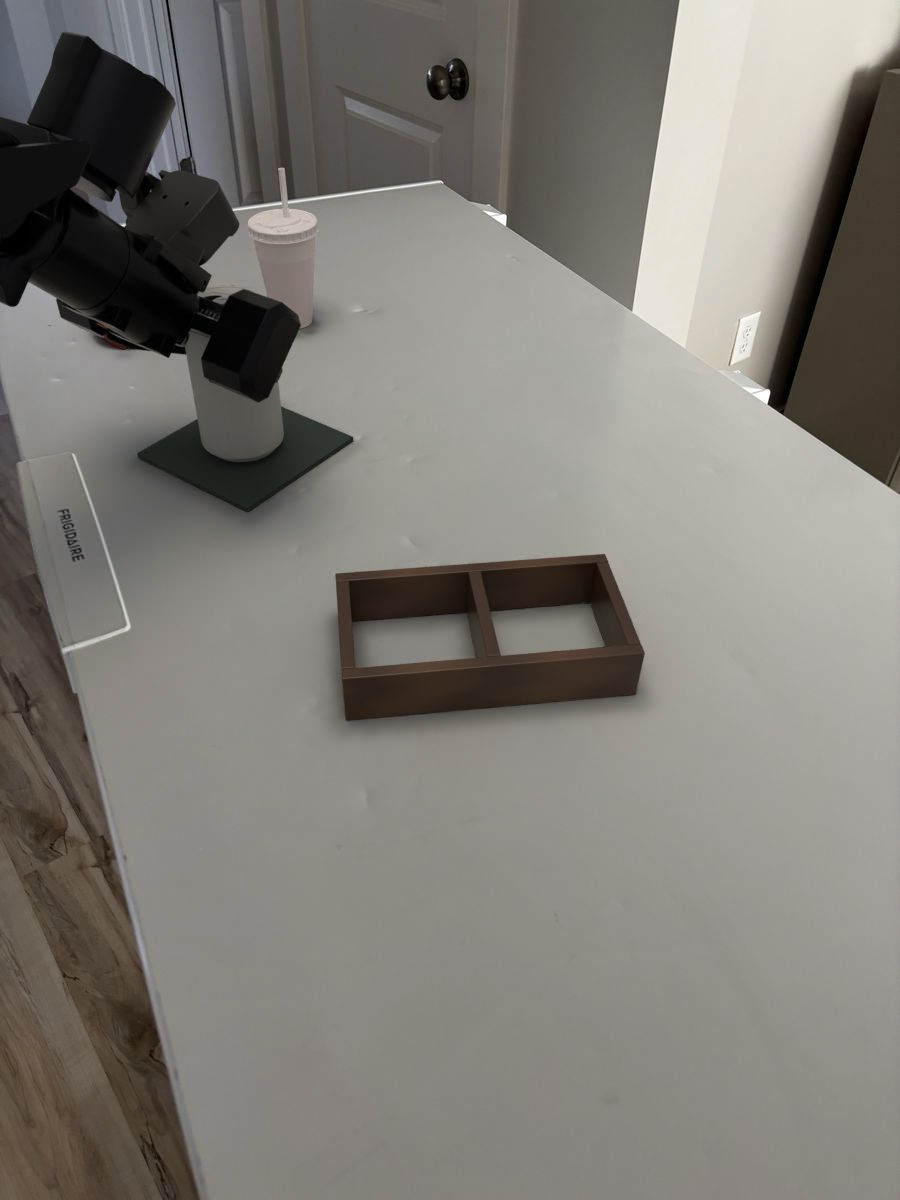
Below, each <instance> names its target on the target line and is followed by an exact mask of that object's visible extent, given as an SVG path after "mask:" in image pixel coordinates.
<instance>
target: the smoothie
mask: <svg viewBox="0 0 900 1200" xmlns="http://www.w3.org/2000/svg"><path fill="white" fill-rule="evenodd" d="M278 179H279V180H278V181H279V190H280V197H281V208H274V209H268V210H264V211H261V212H258V213H256V214H254V215H252V216H251V217H249V219H248V221H247V229H248V231H247V234H248V236H249V237H250V238H251V239H252V240H253V244H254V247H255V248H254V249H255V252H256V256H257V260H258V264H259V268H260V272H261V276H262V279H263V283H264V288H265V292H266V297H268V298H271V299H274V300H277V301H280V302H282V303H284V304H285V305H286V306H288V307H289V308H290V309H291V310H293V311H294V312H295V313H296V314H298V316H299V320H300V323H301V327H300V329H304V328H307V327H309V326H310V325H311V324H312V323H313V311H314V310H313V309H314V308H313V307H314V283H315V282H314V281H315V258H316V257H315V256H316V255H315V253H316V236H317V235H318V234H319V231H320V228H319V225H318V223H319V222H318V218H317V216H315V215H314V214H313V213H311V212H309V211H306V210H302V209H295V208H289V199H288V189H287V188H288V187H287V180H286V179H287V178H286V170H285V167H279V168H278ZM300 329H299V330H300Z"/></svg>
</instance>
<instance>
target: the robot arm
mask: <svg viewBox="0 0 900 1200" xmlns="http://www.w3.org/2000/svg"><path fill="white" fill-rule="evenodd" d="M33 104H34V105H33V107H32V108H31V111H30V113H29V116H28V118H27V120H26V123H24V122H21V121H17V120H13V119H10V118H7V117H4V116H0V304H3V305H5V306H7V307H10V308H14V307H17V306H18V305H19V304H20V302H21V300H22V298H23V295H24V293H25V291H26V288H27V286H28V283H29V284H31V285H32V286H35V287H36V288H38V289H40V290H41V291H43V292H46V294H49V295H50V296H52V297H54V298H55V302H56V305H57V310H58V313H59V318H61V319H63V320H64V321H66V322H67V323H70V324H72V325H74V326H75V327H77V328H79V329H80V330H83V331H86V332H89V333H91V334H92V335H95V336H98V337H100V338H103V339H105V338H104V336H105V334H106V337H107V338H108V339H109V340H111V341H113V342H116V343H118V344H120V345H123V346H125V347H126V348H128V349H130V350H137V351H146V352H153V353H155V354H158V355H160V356H163V357H164V358H167V359H170V357H171V355H172V354H177V355H186V351H185V346H186V344H187V342H188V340H189V335H190V334H189V331H192V332H194V333H197V334H199V335H202V336H204V337H207V338H209V342H208V344H207V346H206V348H205V350H204V353H203V355H202V357H201V363H202V369H203V375H204V377H205V378H206V379H208V380H209V382H212V383H214V384H216V385H219V386H221V387H223V388H225V389H227V390H229V391H232V392H234V393H236V394H239V395H241V396H243V397H246V398H248V399H251V400H253V401H255V402H258V403H259V402H261V401H263V400H265V399H267V398H268V397H269V395H270V393H271V391H272V388H273V386H274V384H275V383H277V382H278V383H279V380H280V379H281V376H282V374H283V367H284V364H285V362H286V360H287V357H288V355H289V353H290V351H291V349H292V346H293V344H294V342H295V340H296V338H297V335H298V333H299V331H300V327H301V323H300V320H299V316H298V314H296V313H295V312H294V311H293V310H291V309H290V308H289V307H288V306H286V305H285V304H284V303H282V302H280V301H277V300H274V299H271V298H268V296H265V295H263V294H262V295H260V294H257V293H254V292H251V291H248V290H246V289H242V290H240V291H238V292H236V293H234V294H231V295H229V297H228V299H227V301H226V302H225V303H224V304H219V303H217V302H214V301H211V300H209V299H206V298H203V297H200V296H198V292H199V291H200V292H205V290H206V288H207V287H208V286H209V283H210V281H211V279H212V277H213V274H211V273H210V272H208V271H207V270H205V269H204V268H203V266H204V265H205V264H206V263H208V261H210V259H211V258H212V257H213V256H214V255H215V254H216V253H217V252H218V250H219V249H220V248H221V247H222V246H223V244H224V243H225V242H226V241H227V240H228V238H230V237H234V235H236V233H237V232H238V230H239V228H240V221H239V218H238V217H237V216H236V213H235V211H234V210H233V207H232V206H231V204H230V201H229V200H228V198H227V196H226V195H225V192H224V190H223V188H222V187H221V185H220V183H219V181H218V180H215V179H214V178H209V177H206V176H202V175H199V174H196V173H192V172H188V171H186V170H181V169H179V170H173V171H167V170H164V169H161V170H160V171H159V172H157V173H158V176H159V177H160V178H159V177H156V175H153V174H152V173H150V172H149V171H148V168H149V166H150V164H151V162H152V159H153V157H154V155H155V152H156V151H157V148H158V146H159V143H160V142H161V139H162V137H163V134H164V132H165V130H166V129H167V125H168V123H169V121H170V120H171V119H170V118H171V117H172V114H173V113H174V110H175V107H176V105H177V102H176V99H175V97H174V96H173V94H172V93H171V92H170V91H169V89H168V88H167V87H166V86H165V85H164V84H163V83H162V82H161V81H160V80H158V78H156V77H155V76H154V75H151V74H148V73H144V72H143V71H142V70H140V69H138V68H137V67H136V66H134V65H133V64H131V63H130V62H128V61H126V59H125V60H124V59H123V58H121V57H120V56H118V55H116V54H114V53H113V52H109V51H108V50H106V49H103V48H102V47H101V46H100V45H98V43H96V41H95V40H94V39H92V38H91V37H90V36H89V35H84V34H80V33H75V32H70V31H61V33H60V36H59V38H58V40H57V43H56V44H55V47H54V50H53V53H52V57H51V64H50V67H49V70H48V72H47V74H46V77H45V79H44V82H43V84H42V86H41V89H40V91H39V93H38V95H37V98H36V100H35V102H34V103H33ZM74 187H75V188H77V189H79V190H81V191H82V192H85V193H86V194H88V195H90V196H93V197H95V198H97V199H99V200H102V201H105V202H108V203H111V202H113V201H114V199H115V197H116V194H117V192H118V196H119V202H120V206H121V210H122V212H123V213H124V215H125V216H126V219H125V226H123V225H121V224H120V223H118V222H117V221H116V220H114V219H112V217H110V216H109V215H107V214H106V213H104V212H103V211H102V210H100V209H99V208H97V207H96V206H94V205H93V204H92V203H91V202H89V201H88V200H87V199H85V198H84V197H82V196H81V195H79V194H78V193H77V192H75V191H74V190H72V188H74ZM198 313H201V314H203V315H206V316H209V317H211V318H212V317H213V318H214V319H217V320H218V321H215V320H213V319H210V318H207V317H205V316H202V315H199V314H198ZM98 324H99V325H98ZM100 325H102V326H104V327H107V329H105V328H104V327H102V326H100Z"/></svg>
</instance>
